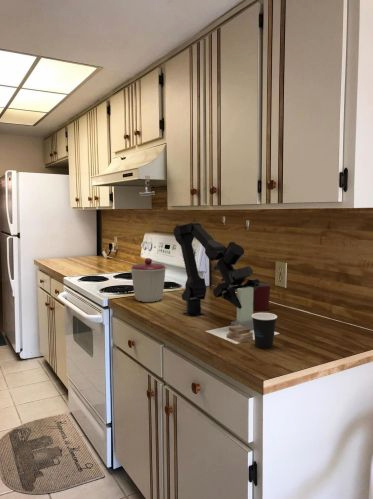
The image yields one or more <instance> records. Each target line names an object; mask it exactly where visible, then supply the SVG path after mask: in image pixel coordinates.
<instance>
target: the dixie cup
mask: <svg viewBox="0 0 373 499" xmlns="http://www.w3.org/2000/svg"><path fill="white" fill-rule="evenodd" d="M252 317H253V327H254V337H255V340H254V346H255V347H256V348H258V349H261V350H264V349H265V350H269V349H272V348H273V346H274V341H275V340H274V338H275V335H274V332H276V331H275V330H276V324H277V323H276V322H277V318H278V315H276V314H274V313H269V312H255V313H253V314H252Z"/></svg>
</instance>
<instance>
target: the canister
mask: <svg viewBox="0 0 373 499" xmlns="http://www.w3.org/2000/svg"><path fill="white" fill-rule="evenodd" d="M152 262H153V260H152V258H149V257H146V258H145V259H144V263H143V262H142V263H136V264H134V265H132V266H131V267H130V268H129V269H130V270H131V271H130V272H131V278H132V279H131V280H132V286H133V292H134V293H133V294H134V298H135V299H136V301H138V302H140V301H142V302H141V303H155V301H156V302H159V301H161V300H162V298H163V295H164V290H165V289H164V288H165V279H166V270H167V266H166V265H164V264H162V263H157V262H156V263H154V262H153V263H152Z"/></svg>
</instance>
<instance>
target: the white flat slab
mask: <svg viewBox="0 0 373 499" xmlns="http://www.w3.org/2000/svg"><path fill="white" fill-rule="evenodd" d="M237 325H241V326H243V327H246V328H248V329H250V332H253V340H250V341H249V342H251V341H255V337H254V327H253V321H251V322H246V323H241V324H240V323H237V320H234V321H231V322H230V325H227V326H224V327H219V328H212V329H210V330H205V332H206V333H208V334H211V335H214V336H215V337H218V338H220V339H224V340H226V341H229V342H230V343H233V344H236V345H238V344H240V343H239V342H237V341H234V340H232V339H229V338H227V334H229V327H231V326H237ZM279 334H280V332H277V331H275V332H274V336H275V335H279ZM246 342H247V343H248V341H246ZM246 342H245V343H246Z"/></svg>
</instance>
